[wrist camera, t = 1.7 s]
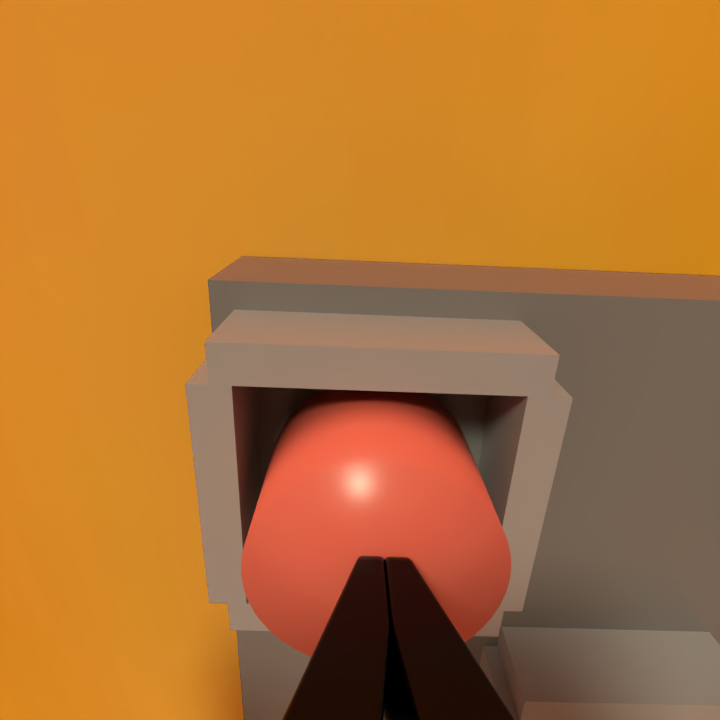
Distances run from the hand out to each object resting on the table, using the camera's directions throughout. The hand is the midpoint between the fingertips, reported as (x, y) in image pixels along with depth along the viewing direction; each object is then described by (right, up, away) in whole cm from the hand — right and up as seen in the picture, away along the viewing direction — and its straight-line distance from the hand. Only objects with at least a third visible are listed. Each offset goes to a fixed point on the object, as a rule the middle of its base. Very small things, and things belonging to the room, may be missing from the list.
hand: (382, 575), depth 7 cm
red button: (0, +1, +3) cm, 3 cm away
